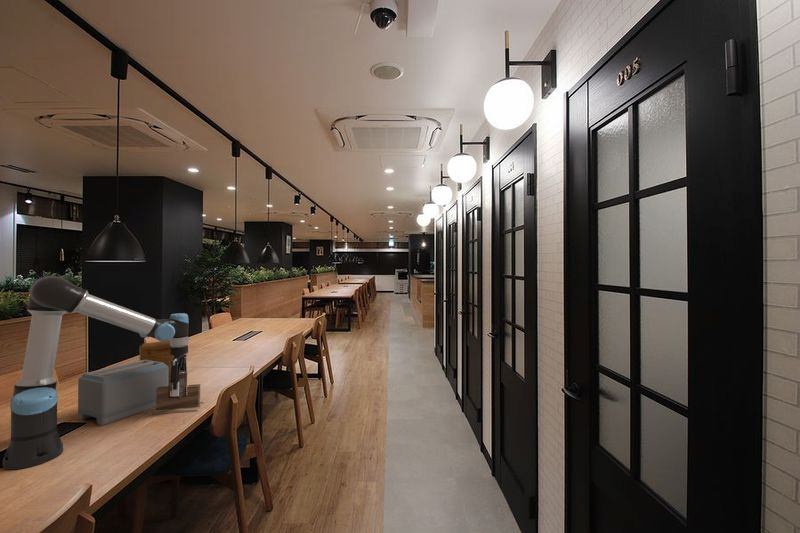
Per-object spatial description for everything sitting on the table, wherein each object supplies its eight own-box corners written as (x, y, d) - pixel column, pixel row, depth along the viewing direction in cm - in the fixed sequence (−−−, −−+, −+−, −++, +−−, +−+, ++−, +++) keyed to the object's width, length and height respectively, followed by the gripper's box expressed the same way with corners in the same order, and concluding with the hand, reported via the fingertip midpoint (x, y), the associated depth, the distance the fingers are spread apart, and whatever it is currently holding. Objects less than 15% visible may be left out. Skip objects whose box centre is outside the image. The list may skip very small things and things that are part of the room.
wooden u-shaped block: (197, 411, 171) (197, 388, 171) (151, 414, 166) (152, 391, 167) (203, 403, 181) (203, 381, 181) (160, 406, 176) (160, 384, 176)
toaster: (176, 400, 185) (176, 360, 185) (101, 426, 154) (102, 379, 154) (152, 395, 192) (152, 357, 192) (76, 419, 161) (76, 373, 161)
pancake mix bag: (181, 390, 200) (181, 339, 200) (138, 396, 190) (139, 343, 190) (180, 386, 205) (181, 337, 205) (139, 392, 195) (140, 341, 195)
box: (170, 396, 173) (171, 371, 173) (179, 394, 177) (180, 369, 177) (177, 399, 170) (178, 374, 170) (187, 396, 174) (188, 371, 174)
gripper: (180, 350, 165) (179, 400, 165) (194, 341, 185) (194, 385, 185) (161, 350, 163) (161, 401, 163) (178, 341, 183) (177, 386, 183)
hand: (178, 392), depth 174 cm, fingers open, 8 cm apart
